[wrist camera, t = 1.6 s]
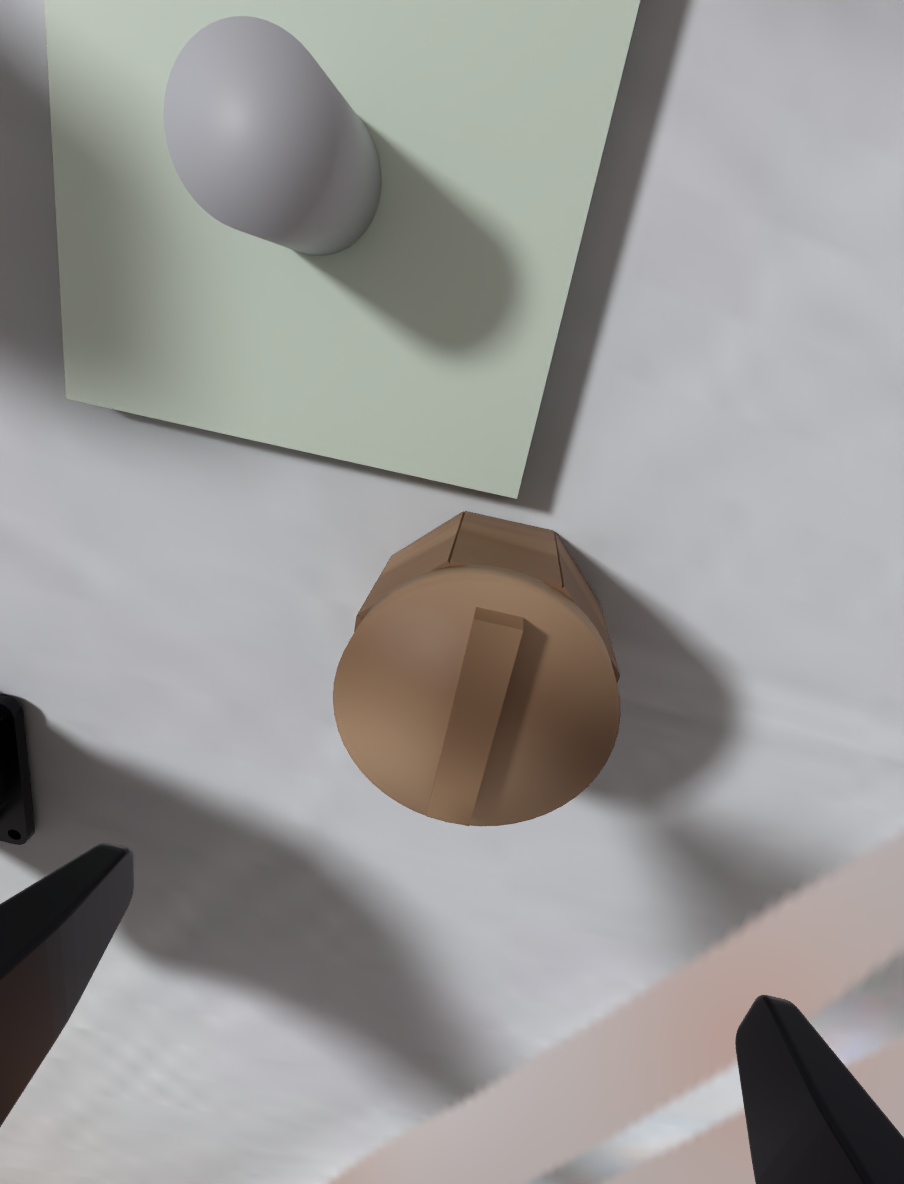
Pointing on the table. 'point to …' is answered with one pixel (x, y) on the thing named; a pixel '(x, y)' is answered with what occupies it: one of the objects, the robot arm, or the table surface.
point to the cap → (479, 676)
